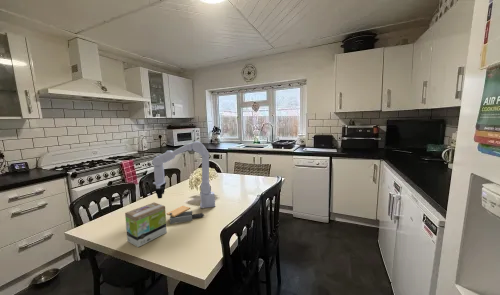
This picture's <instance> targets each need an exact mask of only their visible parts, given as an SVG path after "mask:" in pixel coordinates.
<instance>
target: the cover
mask: <svg viewBox="0 0 500 295" xmlns="http://www.w3.org/2000/svg"><path fill="white" fill-rule="evenodd" d="M190 210H191V207H190V206H185V205H182V206H179V207H177V208H175V209H172V210H170V211H168V212H166V216H169V217H170V216H173V217H175V216H177V215H179V214H181V213H183V212H188V211H190Z"/></svg>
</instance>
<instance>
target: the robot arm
mask: <svg viewBox="0 0 500 295" xmlns="http://www.w3.org/2000/svg"><path fill="white" fill-rule="evenodd" d="M186 151H190V152H192V151H193V152H196V153H198V154H199V155H200V156H201V184H200V193H199V195H200V204H199V205H200V209H205V208H214V207H216V199H215V198H216V196H215V191H212V187H211V185H210V153H209V152H210V151H208V150H207V148H206V146H205V145H204V143H202V142H201V141H199V140H195V141H193V142H189V143H186V144H184V145H183V146H180V147H179V148H177V149H174V150H170V149H169V150H166V151H165V152H164V153H162V154H161V153H160V154H158V155H157V156H155V157H154V158H153V159H152V162H151V163H152V165H153V173H154V182H152V185H154V186H155V187H153V191H154V192H155V194H156V196H157V199H158V200H159V199H163V195H165V188H166V184H167V182H166V180H165V177H166V176H165V167H164V164H165V163H168V162H169V161H172V160H174V159H175V158H176V156H177V155H179V154H183V153H184V152H186Z"/></svg>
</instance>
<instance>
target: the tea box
mask: <svg viewBox="0 0 500 295" xmlns="http://www.w3.org/2000/svg"><path fill="white" fill-rule="evenodd" d="M124 214H125V215H124V216H125V217H124V218H125V229H126V240H127V242H128V243H130V245H131V244H132V245H134V246H135V247H137V248H139V247H141V246H144V245H146V244H147V243H149V242H151V241H153V240H155V239H156V238H158V237H161V236H163V235H165V234H167V217H166V216H167V212H166V206H165V205H162V204H160V203H157V202H151V203H148V204H146V205H143V206H141V207H137V208H135V209H132V210H129V211H126V212H125V213H124Z"/></svg>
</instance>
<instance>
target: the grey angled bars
mask: <svg viewBox="0 0 500 295" xmlns="http://www.w3.org/2000/svg"><path fill="white" fill-rule="evenodd" d="M192 215H193V211H192V210H187V211H185V212H183V213H181V214H179V215H177V216H175V217H173V216H169V224H170V225H172V224H177V223H178V224H180V223H185V222H192V221H193V218H192Z"/></svg>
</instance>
